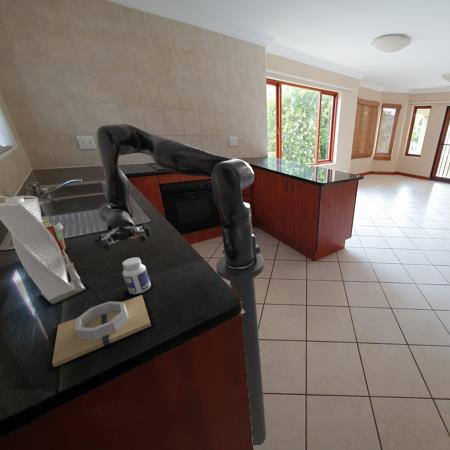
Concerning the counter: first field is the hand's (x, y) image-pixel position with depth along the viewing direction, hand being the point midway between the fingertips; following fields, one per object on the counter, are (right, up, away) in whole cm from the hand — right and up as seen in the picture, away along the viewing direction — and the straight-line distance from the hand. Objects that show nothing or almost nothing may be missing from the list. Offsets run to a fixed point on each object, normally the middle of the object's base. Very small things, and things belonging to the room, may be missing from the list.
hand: (125, 243), depth 70 cm
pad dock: (+8, -18, -17) cm, 25 cm away
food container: (-35, -5, +12) cm, 38 cm away
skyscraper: (-13, -13, -6) cm, 20 cm away
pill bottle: (+7, -13, -4) cm, 15 cm away
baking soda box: (-24, -9, +3) cm, 25 cm away
